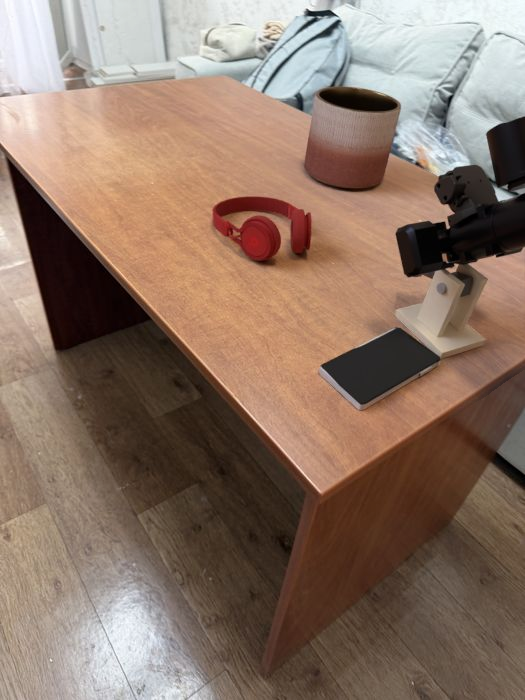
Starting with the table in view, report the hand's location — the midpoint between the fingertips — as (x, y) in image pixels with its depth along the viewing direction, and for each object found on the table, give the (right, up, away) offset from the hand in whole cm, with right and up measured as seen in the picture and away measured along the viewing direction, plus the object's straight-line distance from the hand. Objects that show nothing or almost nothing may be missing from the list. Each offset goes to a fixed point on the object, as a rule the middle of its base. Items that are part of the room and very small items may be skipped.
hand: (418, 254), depth 70 cm
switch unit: (+3, -11, 0) cm, 11 cm away
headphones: (-23, +6, +16) cm, 29 cm away
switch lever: (+2, -5, -1) cm, 5 cm away
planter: (-5, +25, +39) cm, 47 cm away
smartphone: (-7, -16, -7) cm, 19 cm away
